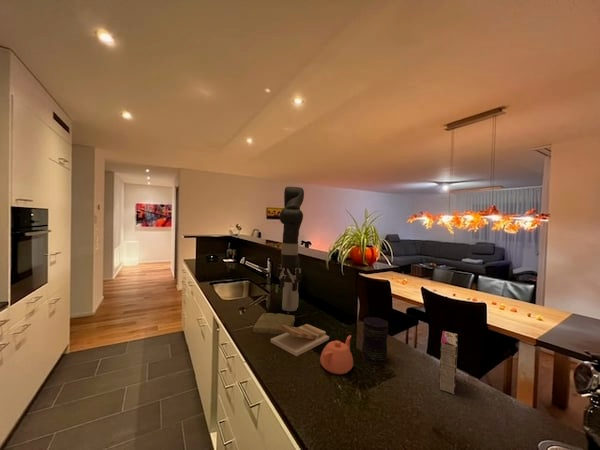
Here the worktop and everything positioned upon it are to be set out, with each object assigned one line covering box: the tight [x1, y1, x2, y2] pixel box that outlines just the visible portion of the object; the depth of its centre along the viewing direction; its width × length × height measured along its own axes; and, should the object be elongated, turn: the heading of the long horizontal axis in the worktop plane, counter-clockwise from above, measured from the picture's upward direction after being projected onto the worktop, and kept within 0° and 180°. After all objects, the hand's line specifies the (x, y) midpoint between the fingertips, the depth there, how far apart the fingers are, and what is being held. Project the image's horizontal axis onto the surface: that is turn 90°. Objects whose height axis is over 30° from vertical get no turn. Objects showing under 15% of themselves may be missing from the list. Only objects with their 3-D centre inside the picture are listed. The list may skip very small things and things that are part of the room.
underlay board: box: [270, 332, 330, 357], centre depth 116 cm, size 22×16×2 cm
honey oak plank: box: [275, 324, 316, 339], centre depth 114 cm, size 15×12×2 cm
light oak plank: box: [297, 323, 327, 339], centre depth 122 cm, size 7×12×2 cm, turn 47°
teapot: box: [319, 334, 354, 375], centre depth 98 cm, size 12×18×10 cm
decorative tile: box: [252, 312, 296, 335], centre depth 132 cm, size 19×20×4 cm
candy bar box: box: [438, 330, 459, 395], centre depth 89 cm, size 11×5×16 cm, turn 148°
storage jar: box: [361, 316, 389, 365], centre depth 105 cm, size 10×10×15 cm
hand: (288, 289), depth 116 cm, fingers open, 7 cm apart
